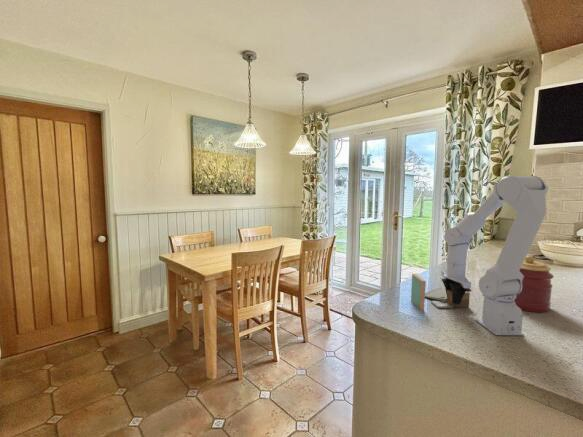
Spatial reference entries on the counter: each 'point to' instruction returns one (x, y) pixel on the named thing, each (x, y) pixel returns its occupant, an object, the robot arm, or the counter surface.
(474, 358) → the counter surface
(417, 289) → the tile
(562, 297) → the counter surface
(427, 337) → the counter surface
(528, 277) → the canister
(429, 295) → the kitchen cleaver
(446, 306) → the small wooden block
